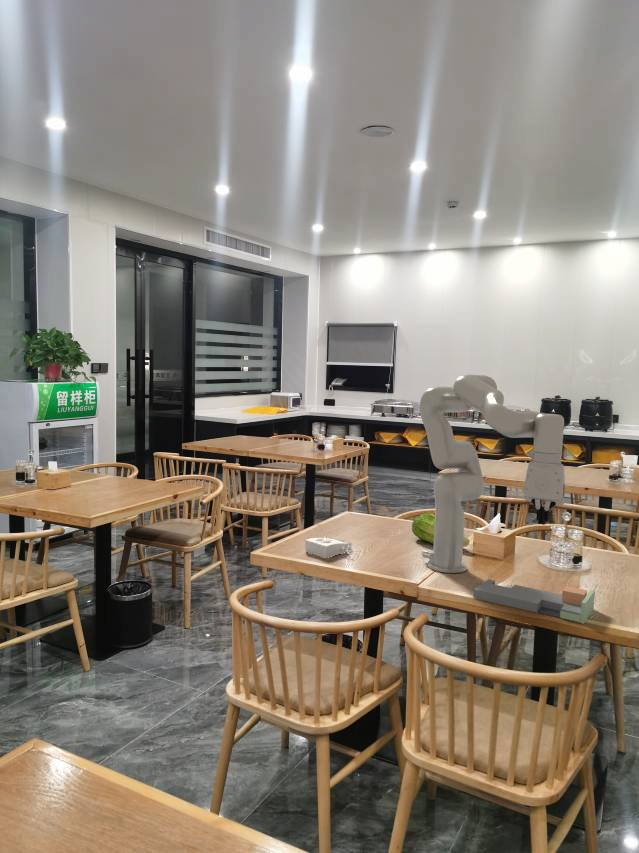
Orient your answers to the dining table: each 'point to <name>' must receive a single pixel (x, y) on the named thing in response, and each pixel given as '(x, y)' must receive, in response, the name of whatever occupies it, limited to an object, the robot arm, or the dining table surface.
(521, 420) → the robot arm
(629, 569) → the dining table surface
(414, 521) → the lettuce
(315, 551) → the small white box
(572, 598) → the block
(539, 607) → the grey stepped platform
